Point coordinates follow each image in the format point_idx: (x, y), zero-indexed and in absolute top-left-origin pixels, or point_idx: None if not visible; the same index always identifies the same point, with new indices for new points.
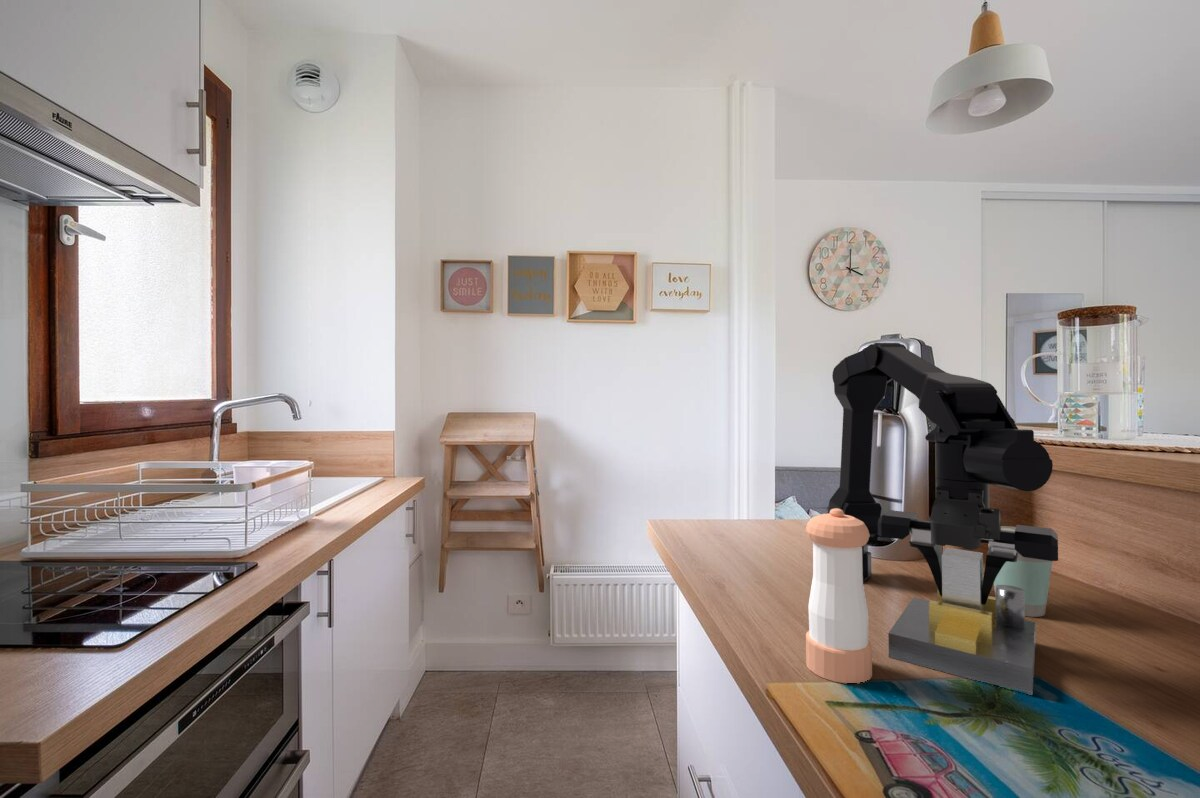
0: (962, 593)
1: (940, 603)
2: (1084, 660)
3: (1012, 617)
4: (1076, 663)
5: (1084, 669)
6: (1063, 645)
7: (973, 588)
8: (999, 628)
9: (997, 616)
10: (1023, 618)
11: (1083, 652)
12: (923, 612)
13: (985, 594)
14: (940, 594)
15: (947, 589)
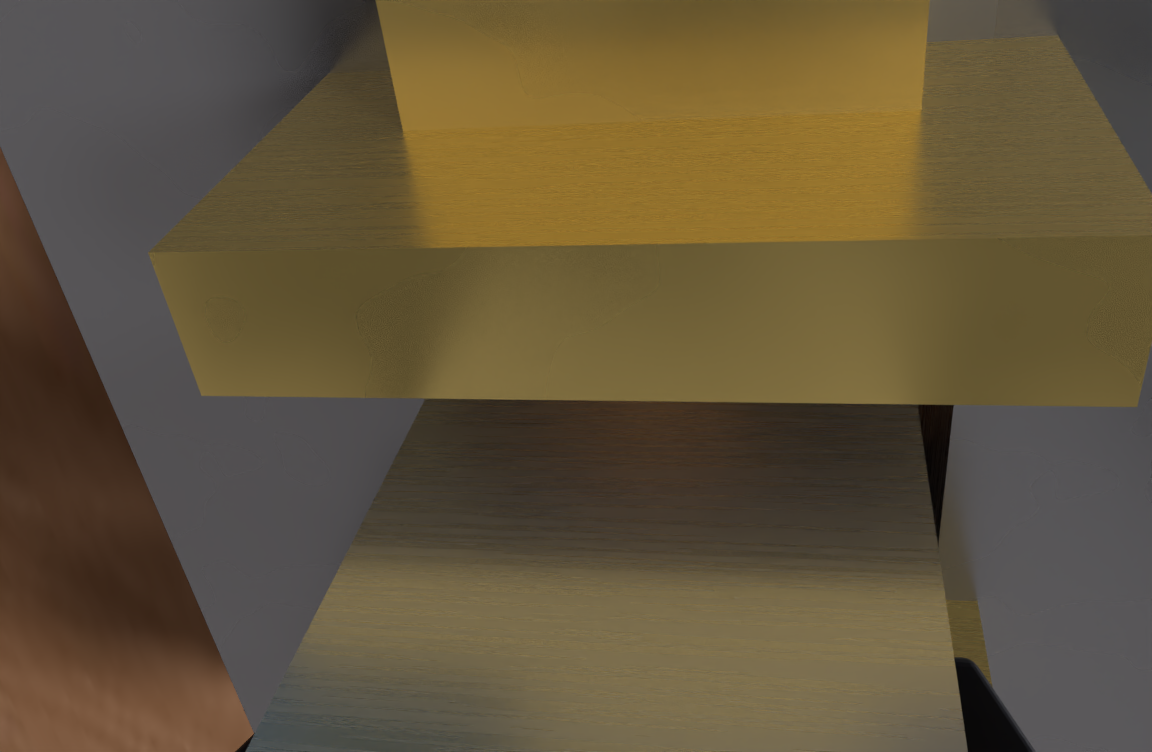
0: (588, 636)
1: (950, 336)
2: (91, 586)
3: None
4: (97, 522)
5: (34, 462)
6: (241, 721)
7: (363, 736)
8: None
9: None
10: None
11: (140, 684)
12: (1133, 585)
13: None
14: (975, 672)
15: (852, 668)
